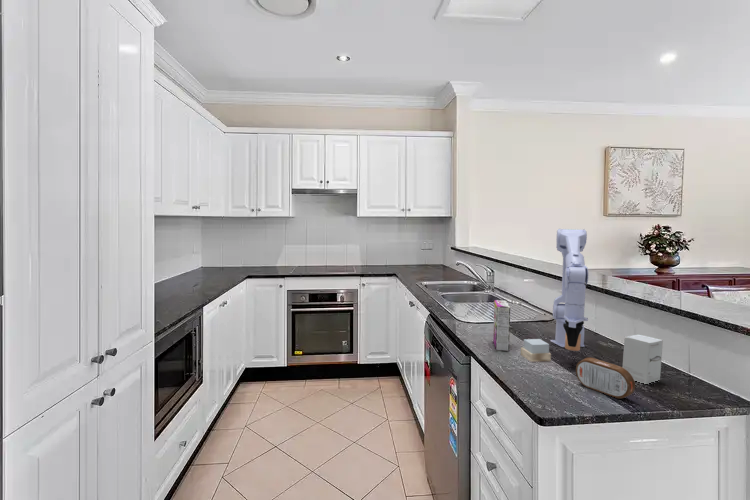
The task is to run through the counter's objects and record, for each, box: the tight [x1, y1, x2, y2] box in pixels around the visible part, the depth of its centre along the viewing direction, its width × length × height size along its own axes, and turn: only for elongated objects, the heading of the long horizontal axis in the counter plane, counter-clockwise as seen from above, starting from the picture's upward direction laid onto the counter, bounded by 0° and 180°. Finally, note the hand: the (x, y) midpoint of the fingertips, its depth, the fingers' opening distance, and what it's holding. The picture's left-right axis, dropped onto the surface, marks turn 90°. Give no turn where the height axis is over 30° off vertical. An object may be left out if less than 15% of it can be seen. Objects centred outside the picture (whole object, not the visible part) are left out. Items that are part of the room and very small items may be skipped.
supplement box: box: [621, 333, 664, 385], centre depth 120 cm, size 7×7×13 cm
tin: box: [575, 357, 636, 399], centre depth 110 cm, size 15×3×8 cm, turn 33°
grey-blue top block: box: [522, 338, 550, 354], centre depth 137 cm, size 6×6×3 cm
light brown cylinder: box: [564, 334, 581, 352], centre depth 132 cm, size 4×4×5 cm
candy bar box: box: [492, 299, 511, 352], centre depth 149 cm, size 11×5×16 cm, turn 168°
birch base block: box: [520, 347, 552, 363], centre depth 138 cm, size 7×7×3 cm
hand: (572, 344), depth 132 cm, fingers closed on light brown cylinder, 4 cm apart
